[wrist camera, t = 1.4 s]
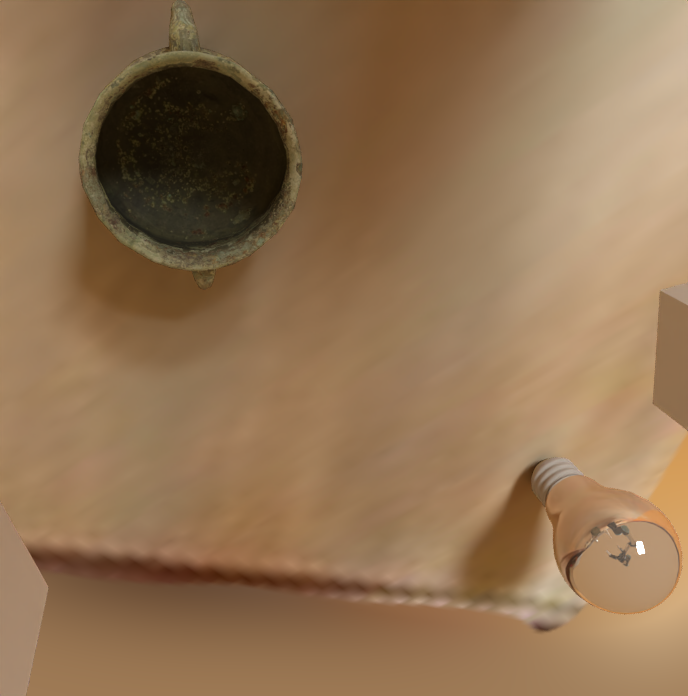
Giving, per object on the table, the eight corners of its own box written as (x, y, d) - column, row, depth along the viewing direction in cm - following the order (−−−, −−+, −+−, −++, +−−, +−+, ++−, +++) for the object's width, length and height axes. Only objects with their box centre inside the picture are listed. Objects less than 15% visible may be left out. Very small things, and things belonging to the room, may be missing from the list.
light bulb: (479, 494, 45) (573, 633, 35) (531, 412, 43) (648, 533, 33) (553, 515, 48) (661, 650, 38) (605, 439, 46) (735, 558, 36)
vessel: (70, 1, 28) (47, -7, 22) (277, 4, 30) (303, -2, 24) (112, 270, 33) (102, 318, 27) (285, 258, 35) (309, 301, 29)
